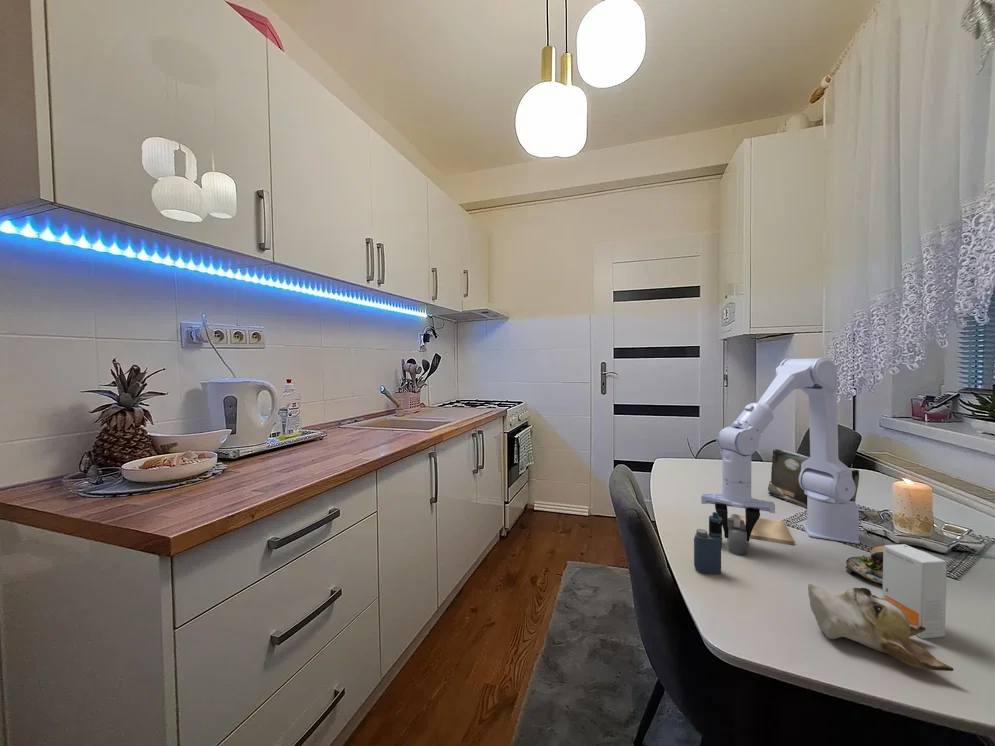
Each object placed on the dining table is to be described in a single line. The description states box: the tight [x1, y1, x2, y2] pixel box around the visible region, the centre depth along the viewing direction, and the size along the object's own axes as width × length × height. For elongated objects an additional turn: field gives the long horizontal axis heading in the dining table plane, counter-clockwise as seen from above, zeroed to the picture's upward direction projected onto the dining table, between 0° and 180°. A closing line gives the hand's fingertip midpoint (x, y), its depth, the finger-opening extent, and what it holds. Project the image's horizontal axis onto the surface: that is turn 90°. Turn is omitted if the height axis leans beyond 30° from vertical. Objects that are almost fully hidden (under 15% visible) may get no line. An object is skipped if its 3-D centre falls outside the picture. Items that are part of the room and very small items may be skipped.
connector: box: [726, 513, 748, 557], centre depth 92 cm, size 4×10×7 cm, turn 153°
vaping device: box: [693, 511, 724, 575], centre depth 82 cm, size 3×5×12 cm, turn 78°
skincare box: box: [881, 543, 948, 640], centre depth 64 cm, size 6×4×12 cm
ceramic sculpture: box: [807, 583, 955, 672], centre depth 60 cm, size 11×9×15 cm
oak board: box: [730, 513, 795, 546], centre depth 101 cm, size 12×13×1 cm
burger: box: [845, 536, 884, 585], centre depth 78 cm, size 12×12×8 cm
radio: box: [767, 448, 860, 509], centre depth 118 cm, size 23×9×15 cm, turn 10°
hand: (736, 538), depth 93 cm, fingers closed on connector, 3 cm apart
